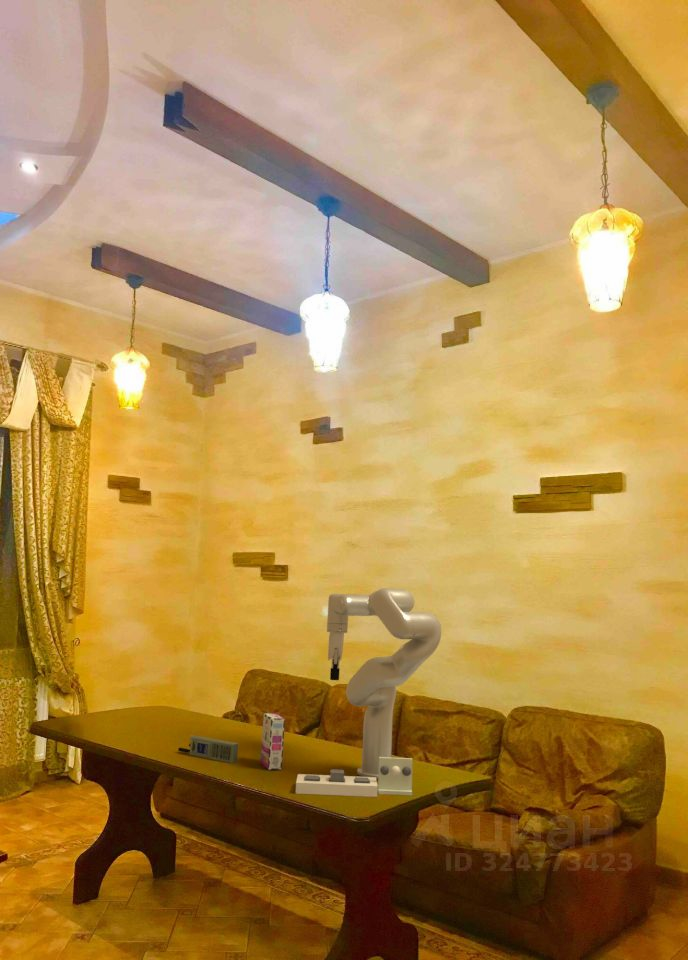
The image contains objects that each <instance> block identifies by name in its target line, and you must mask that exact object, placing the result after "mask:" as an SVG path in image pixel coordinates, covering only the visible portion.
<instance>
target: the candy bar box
mask: <svg viewBox="0 0 688 960" xmlns="http://www.w3.org/2000/svg"><path fill="white" fill-rule="evenodd" d="M262 719H263V720H262V721H263V722H262V731H261V733H262V735H261V746H260V747H261V750H260V760H259V761H260V764H261V765H262V766H263V767H264V768H266V769H267V770H268V771H281V770H282V769H283V753H284V741H285V739H284V738H285V721H286V719H285V718H284V716H283V717H282V715H280V714H278V713H276V712H275V713H274V712H271V713H267V712H266V713H263V717H262Z"/></svg>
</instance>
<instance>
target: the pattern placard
mask: <svg viewBox="0 0 688 960" xmlns="http://www.w3.org/2000/svg"><path fill="white" fill-rule="evenodd" d="M377 780H378V781H377V785H378V792H377V795H393V796H394V795H395V796H397V795H398V796H413V789H412V788H413V758H412V757H410V758H407V757H392V756H391V757H379V778H378V779H377Z"/></svg>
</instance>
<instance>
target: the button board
mask: <svg viewBox="0 0 688 960" xmlns="http://www.w3.org/2000/svg"><path fill="white" fill-rule="evenodd" d="M306 775H310V774H303V773H298V774H297V777H296V782H295V794H300V795H325V796H347V797H367V798H372V797H373V798H378V781H377V780H378V779H376V777H363V776H361V777H362V778H368V779H369V783H355V777H356V776H350V775H344V782H330V775H331V774H330V775H329V774H326V775H325V774H315V775H316V776H319V781H305V777H306Z"/></svg>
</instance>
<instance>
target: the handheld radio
mask: <svg viewBox="0 0 688 960" xmlns="http://www.w3.org/2000/svg"><path fill="white" fill-rule="evenodd" d="M189 737H190V738H189V741H190V743H188V747H189V749H188V748H184V747H178V749H177V750H178V752H182V753H187V754H189V756H192V757H196V758H202V759H207V760H212V761H218V762H222V763H228V764H237V763H238V756H239V754H238V753H239V743H238V742H232V741H228V740H221V739H215V738H210V737H204V736H199V735H189Z"/></svg>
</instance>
